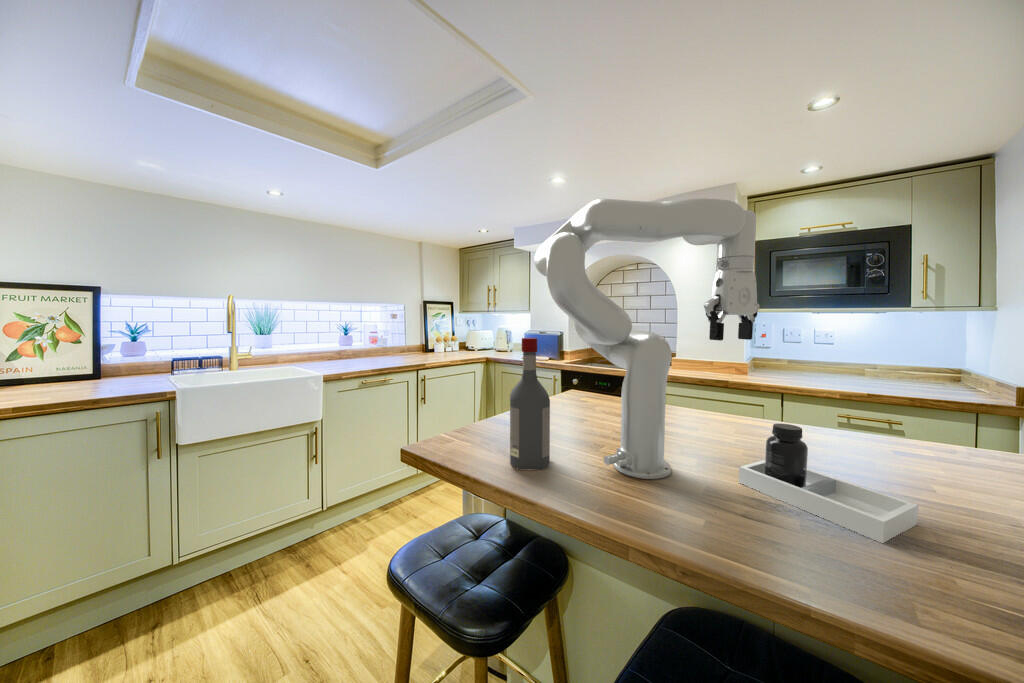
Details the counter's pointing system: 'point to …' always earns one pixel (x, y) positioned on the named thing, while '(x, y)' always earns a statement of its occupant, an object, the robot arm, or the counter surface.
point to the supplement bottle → (786, 455)
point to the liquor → (529, 415)
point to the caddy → (838, 502)
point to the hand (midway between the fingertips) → (730, 339)
